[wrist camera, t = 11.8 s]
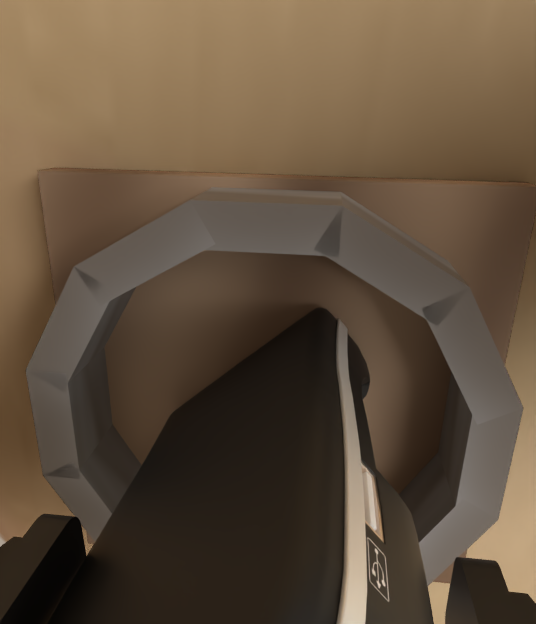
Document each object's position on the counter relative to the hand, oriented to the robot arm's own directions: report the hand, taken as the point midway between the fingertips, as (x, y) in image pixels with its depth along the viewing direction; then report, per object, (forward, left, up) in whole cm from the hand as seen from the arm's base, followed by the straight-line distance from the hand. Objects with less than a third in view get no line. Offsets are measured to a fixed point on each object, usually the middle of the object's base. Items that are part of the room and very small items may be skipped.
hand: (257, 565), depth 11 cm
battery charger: (0, 0, -6) cm, 6 cm away
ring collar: (0, 0, -7) cm, 7 cm away
